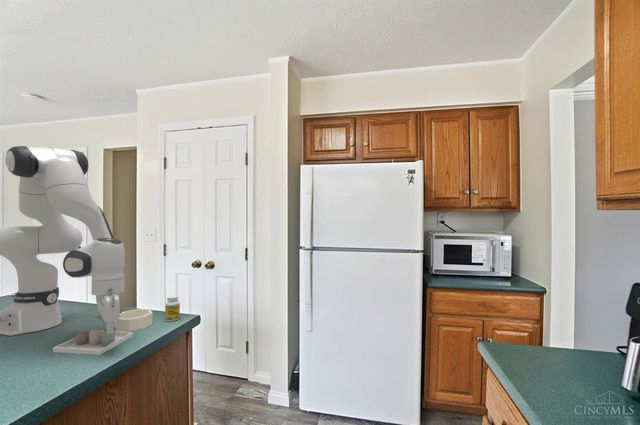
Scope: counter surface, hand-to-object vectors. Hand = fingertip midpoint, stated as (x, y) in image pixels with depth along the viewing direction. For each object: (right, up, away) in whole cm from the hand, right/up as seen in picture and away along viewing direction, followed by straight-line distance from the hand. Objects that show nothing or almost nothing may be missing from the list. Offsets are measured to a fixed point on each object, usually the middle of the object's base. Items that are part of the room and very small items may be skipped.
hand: (107, 329), depth 96 cm
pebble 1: (-9, -5, +2) cm, 11 cm away
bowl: (-3, -6, +18) cm, 19 cm away
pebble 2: (-5, -5, +1) cm, 7 cm away
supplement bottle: (+8, -7, +26) cm, 28 cm away
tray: (-5, -6, +1) cm, 8 cm away
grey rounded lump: (0, -5, +1) cm, 5 cm away
